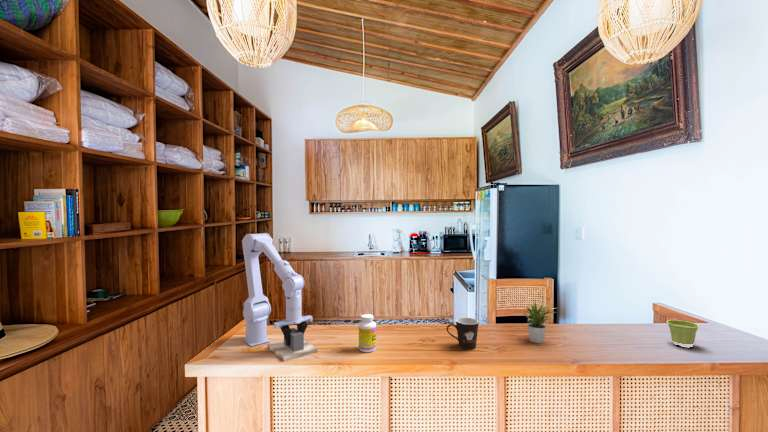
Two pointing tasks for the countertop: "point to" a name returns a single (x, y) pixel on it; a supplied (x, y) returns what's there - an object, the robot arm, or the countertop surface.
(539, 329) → the house plant
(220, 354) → the countertop surface
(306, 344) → the ash board
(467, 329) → the coffee mug
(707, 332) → the countertop surface
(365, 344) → the supplement bottle
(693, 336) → the plant pot
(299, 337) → the block
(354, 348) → the countertop surface
